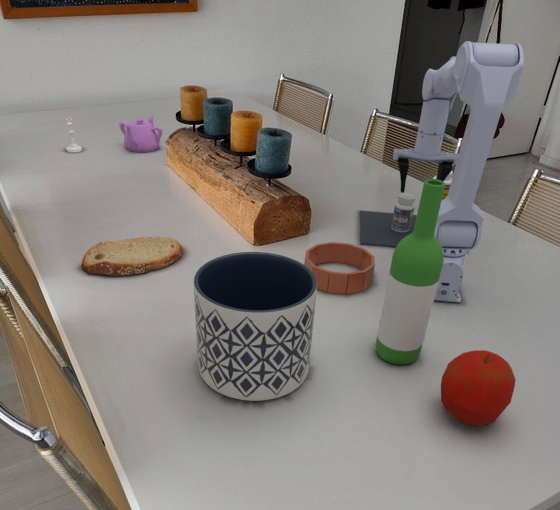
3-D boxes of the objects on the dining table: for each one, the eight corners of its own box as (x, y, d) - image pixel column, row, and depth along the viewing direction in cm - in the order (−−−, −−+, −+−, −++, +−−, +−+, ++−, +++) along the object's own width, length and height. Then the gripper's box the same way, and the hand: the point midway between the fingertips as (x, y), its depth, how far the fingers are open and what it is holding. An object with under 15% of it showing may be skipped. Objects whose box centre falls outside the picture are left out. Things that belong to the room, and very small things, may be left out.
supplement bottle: (436, 214, 146) (445, 175, 139) (422, 206, 149) (430, 169, 143) (451, 210, 148) (460, 172, 142) (436, 203, 152) (444, 166, 145)
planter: (176, 364, 90) (167, 275, 79) (257, 324, 100) (259, 241, 90) (249, 420, 80) (251, 327, 70) (331, 370, 90) (342, 282, 80)
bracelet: (372, 297, 110) (375, 277, 107) (301, 290, 110) (302, 270, 108) (370, 264, 121) (373, 245, 118) (306, 258, 122) (307, 239, 119)
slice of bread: (189, 249, 123) (188, 233, 120) (153, 286, 109) (151, 269, 107) (117, 236, 126) (114, 221, 124) (74, 271, 112) (70, 255, 110)
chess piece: (65, 148, 174) (58, 114, 168) (81, 147, 176) (75, 113, 170) (67, 153, 171) (60, 118, 165) (83, 151, 173) (77, 117, 166)
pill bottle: (388, 230, 135) (394, 196, 130) (394, 223, 138) (400, 191, 133) (406, 234, 133) (413, 201, 128) (412, 228, 137) (419, 195, 131)
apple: (488, 392, 88) (511, 333, 80) (511, 437, 80) (538, 376, 72) (427, 392, 87) (443, 332, 80) (444, 437, 79) (464, 375, 72)
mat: (445, 252, 128) (446, 250, 127) (360, 244, 129) (360, 242, 128) (435, 218, 143) (436, 217, 143) (359, 211, 144) (360, 210, 144)
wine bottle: (425, 350, 96) (469, 180, 77) (410, 372, 91) (454, 196, 72) (384, 335, 99) (417, 168, 80) (367, 357, 94) (398, 183, 75)
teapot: (128, 155, 172) (124, 125, 166) (120, 143, 182) (116, 114, 176) (165, 152, 176) (163, 123, 170) (155, 140, 186) (153, 112, 180)
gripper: (461, 129, 123) (447, 189, 131) (396, 124, 123) (386, 184, 132) (466, 138, 117) (451, 199, 126) (399, 132, 118) (388, 194, 126)
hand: (418, 192), depth 128 cm, fingers open, 7 cm apart
